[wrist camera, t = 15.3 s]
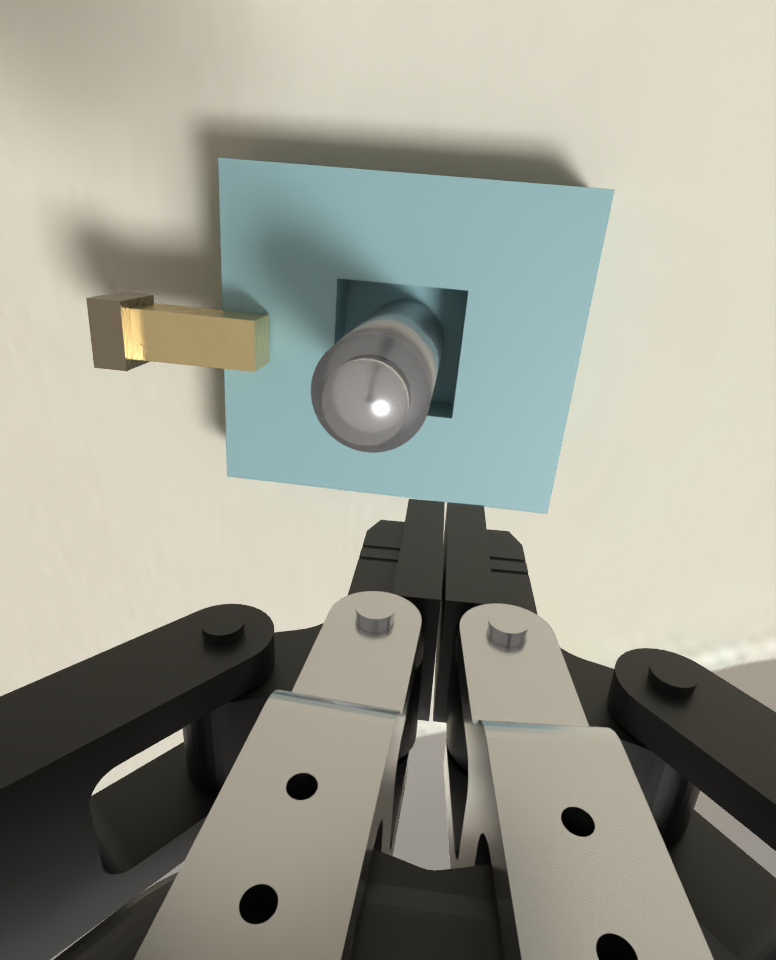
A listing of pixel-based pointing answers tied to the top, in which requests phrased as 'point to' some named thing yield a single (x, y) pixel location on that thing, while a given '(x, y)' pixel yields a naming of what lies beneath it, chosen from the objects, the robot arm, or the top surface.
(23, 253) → the top surface
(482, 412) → the dock
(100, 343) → the block hammer
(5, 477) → the top surface
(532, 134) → the top surface
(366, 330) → the metal capped cylinder
